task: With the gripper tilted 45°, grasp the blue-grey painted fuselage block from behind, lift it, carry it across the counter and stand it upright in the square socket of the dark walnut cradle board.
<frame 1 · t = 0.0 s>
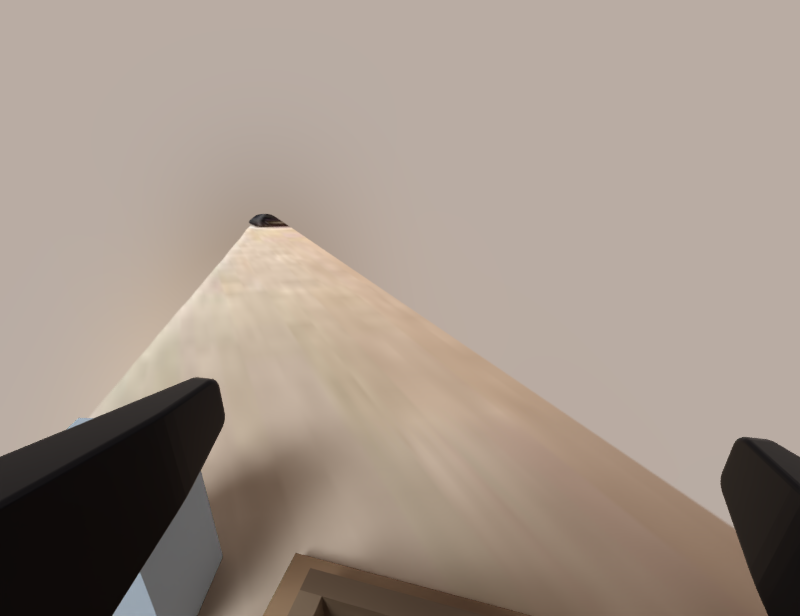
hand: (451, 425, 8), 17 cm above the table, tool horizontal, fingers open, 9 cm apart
fuselage block: (150, 603, 21), on the table
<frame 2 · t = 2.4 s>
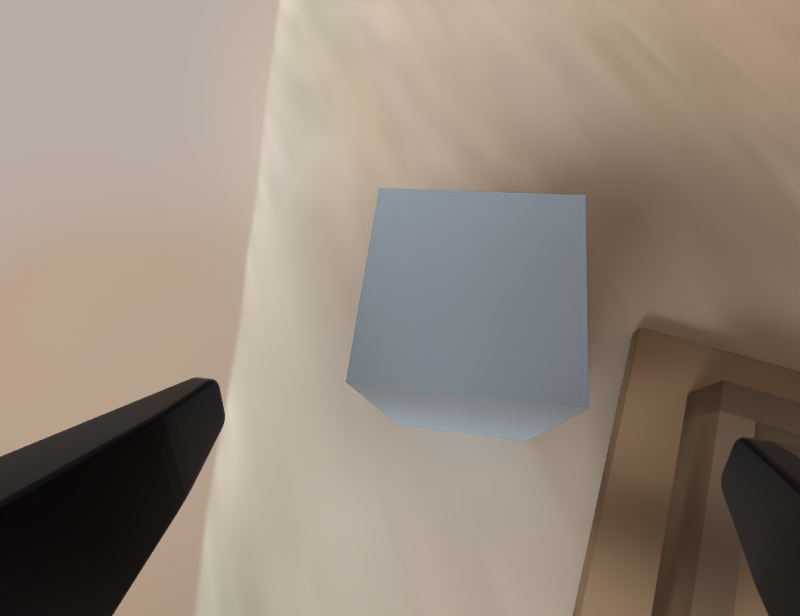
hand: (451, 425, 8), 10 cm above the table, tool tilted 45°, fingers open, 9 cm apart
fuselage block: (466, 371, 18), on the table
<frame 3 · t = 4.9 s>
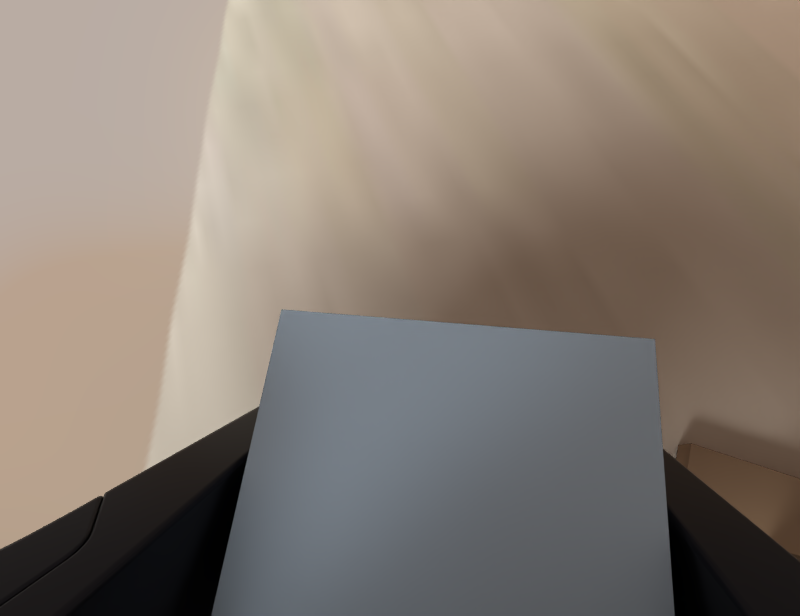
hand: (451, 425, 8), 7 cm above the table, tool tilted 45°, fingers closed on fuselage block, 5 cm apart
fuselage block: (451, 494, 13), on the table, touching gripper
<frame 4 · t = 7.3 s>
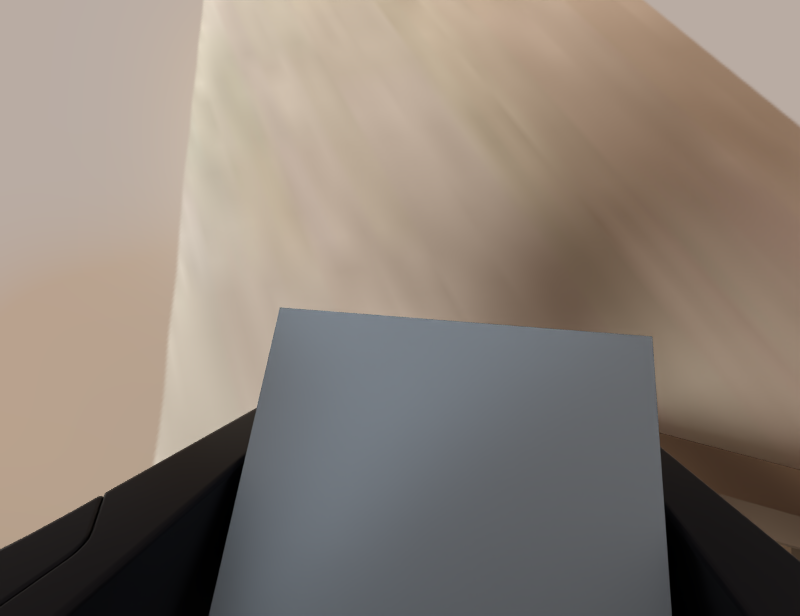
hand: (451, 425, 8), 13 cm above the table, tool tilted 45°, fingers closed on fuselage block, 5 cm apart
fuselage block: (450, 492, 13), point 7 cm above the table, touching gripper
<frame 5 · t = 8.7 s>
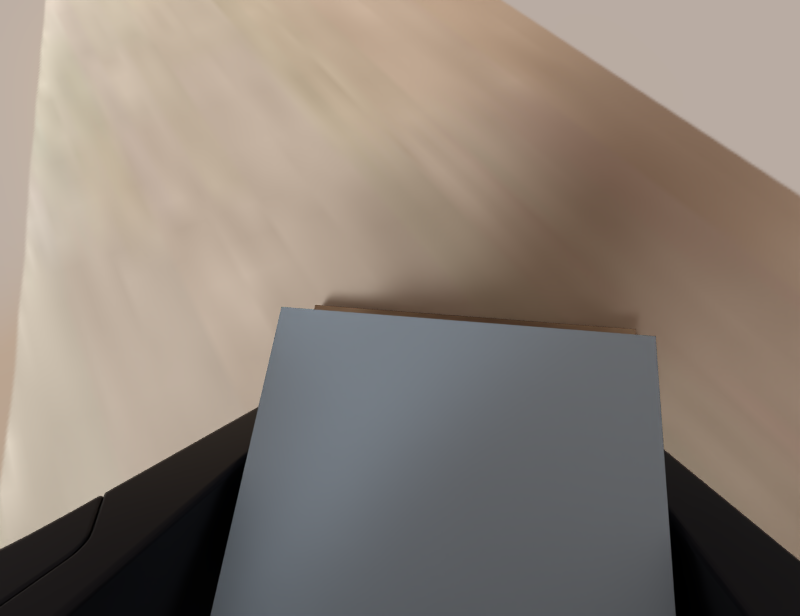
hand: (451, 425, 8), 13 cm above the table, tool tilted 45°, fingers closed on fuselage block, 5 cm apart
cradle: (453, 485, 19), on the table
fuselage block: (451, 493, 13), point 6 cm above the table, touching gripper
when the fingers open (9 cm above the table, at t = 9.9 s): fuselage block drops 1 cm, resting on cradle.
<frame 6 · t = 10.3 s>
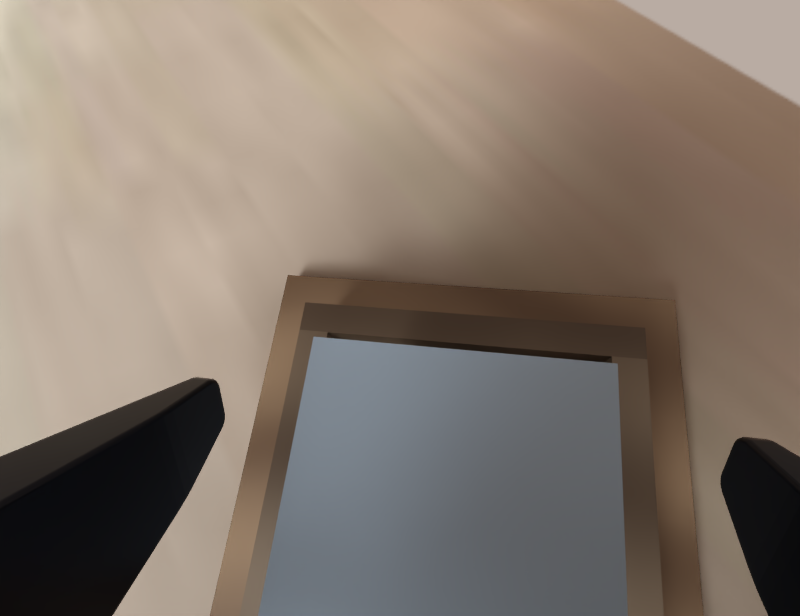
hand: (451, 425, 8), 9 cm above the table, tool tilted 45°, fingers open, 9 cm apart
cradle: (452, 490, 16), on the table
fuselage block: (452, 490, 15), point 1 cm above the table, touching cradle
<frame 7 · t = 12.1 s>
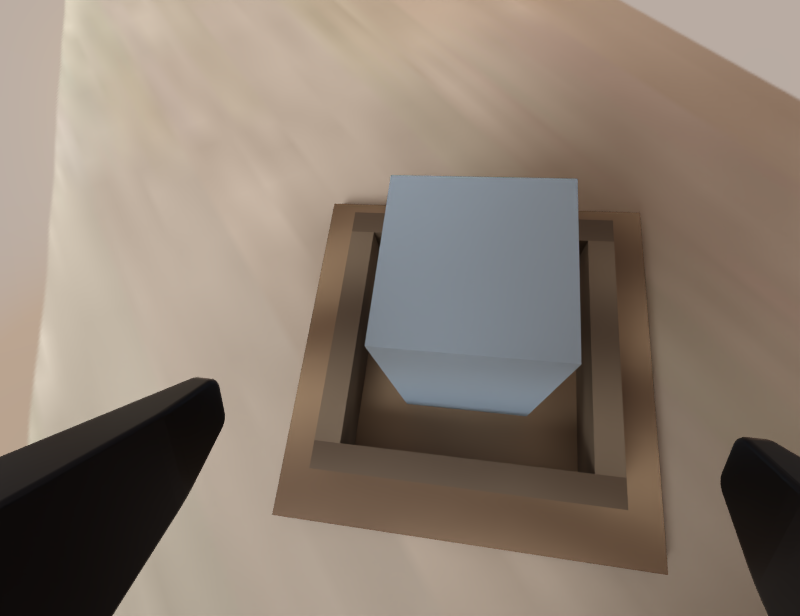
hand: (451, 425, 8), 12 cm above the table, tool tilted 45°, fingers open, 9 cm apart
cradle: (468, 357, 20), on the table
fuselage block: (469, 352, 19), point 1 cm above the table, touching cradle
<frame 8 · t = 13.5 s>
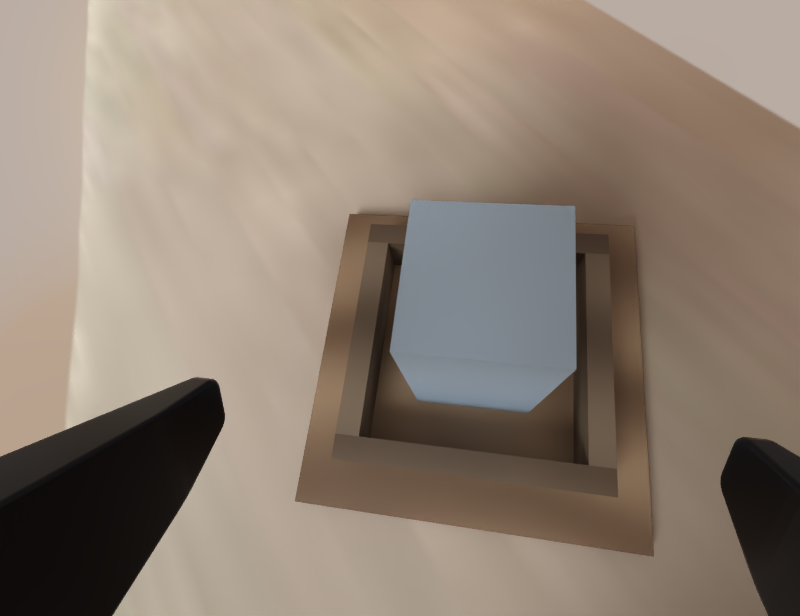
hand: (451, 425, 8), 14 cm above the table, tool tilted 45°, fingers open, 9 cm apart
cradle: (474, 359, 22), on the table
fuselage block: (475, 354, 21), point 1 cm above the table, touching cradle
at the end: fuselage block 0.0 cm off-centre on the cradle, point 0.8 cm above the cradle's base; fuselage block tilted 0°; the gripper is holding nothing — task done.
